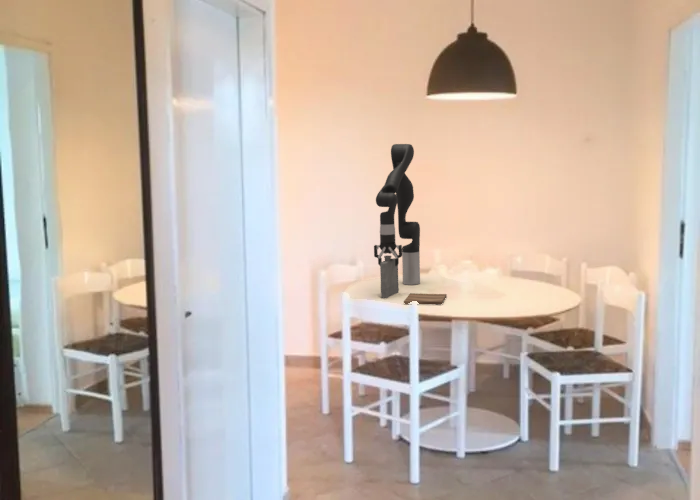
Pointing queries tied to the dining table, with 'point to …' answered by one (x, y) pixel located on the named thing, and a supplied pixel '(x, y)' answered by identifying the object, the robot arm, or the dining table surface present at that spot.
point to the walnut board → (426, 298)
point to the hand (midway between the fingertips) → (388, 265)
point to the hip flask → (389, 277)
